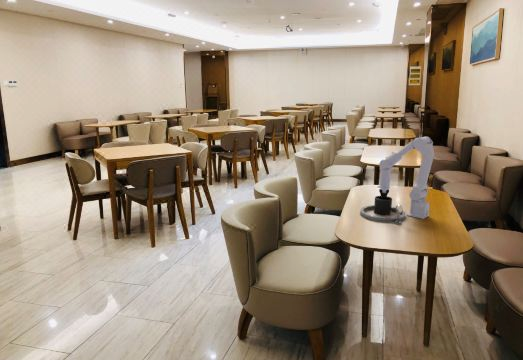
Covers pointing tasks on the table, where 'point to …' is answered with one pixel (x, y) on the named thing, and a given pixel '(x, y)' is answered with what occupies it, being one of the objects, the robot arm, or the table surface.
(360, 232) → the table surface
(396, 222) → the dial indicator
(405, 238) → the table surface
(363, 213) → the ring
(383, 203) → the mug
